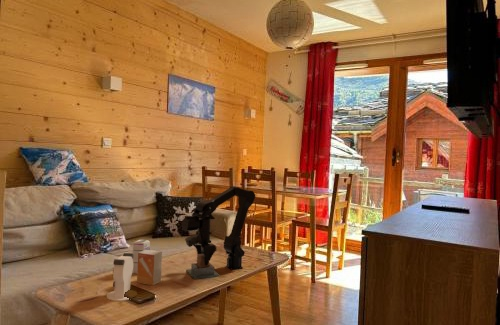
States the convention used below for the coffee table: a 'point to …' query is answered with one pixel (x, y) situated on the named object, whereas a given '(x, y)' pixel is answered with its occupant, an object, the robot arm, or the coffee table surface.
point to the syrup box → (137, 248)
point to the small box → (149, 267)
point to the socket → (202, 271)
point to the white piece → (121, 277)
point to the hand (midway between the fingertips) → (202, 262)
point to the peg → (201, 261)
